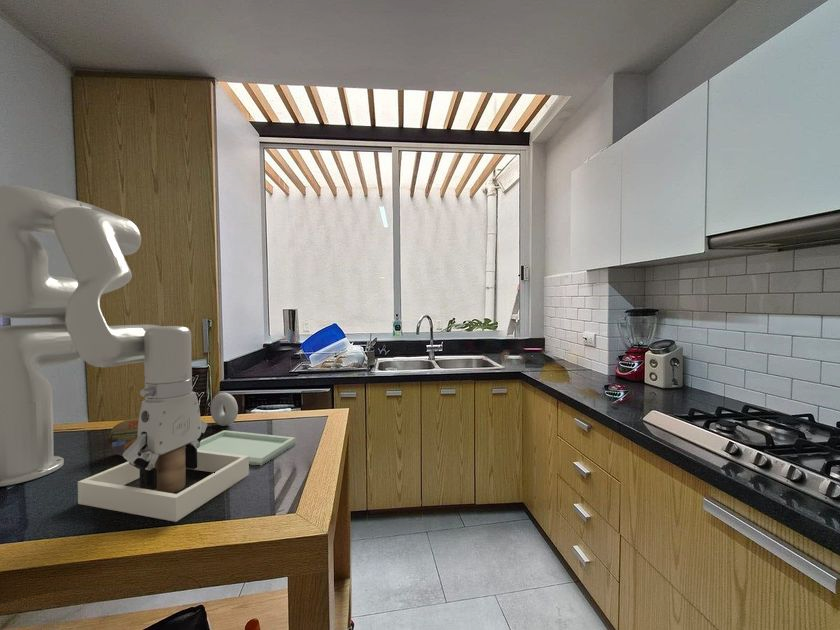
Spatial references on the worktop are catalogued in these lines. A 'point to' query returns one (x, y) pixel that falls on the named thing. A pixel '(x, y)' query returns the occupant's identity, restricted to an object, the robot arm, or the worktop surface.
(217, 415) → the donut
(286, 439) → the tray
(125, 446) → the tin
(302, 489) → the worktop surface
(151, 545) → the worktop surface
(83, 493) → the white rectangular frame
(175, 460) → the wooden cylinder
